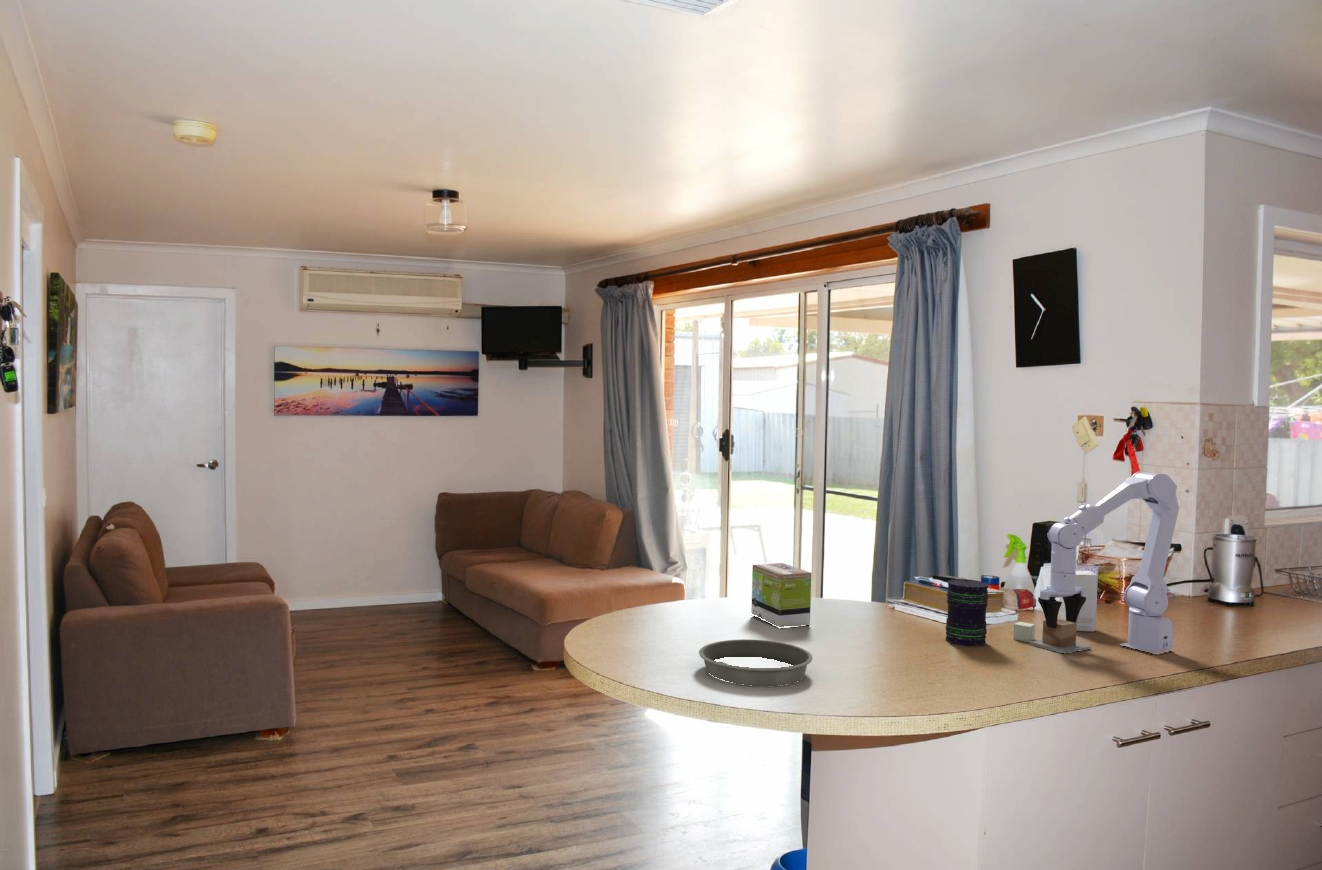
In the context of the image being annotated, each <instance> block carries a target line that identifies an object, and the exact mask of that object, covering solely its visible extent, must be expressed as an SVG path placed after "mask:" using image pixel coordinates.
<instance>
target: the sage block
mask: <svg viewBox="0 0 1322 870" xmlns="http://www.w3.org/2000/svg"><path fill="white" fill-rule="evenodd" d="M1035 627H1036V624H1035V623H1029V622H1023V621H1018V622H1015V623H1014V624H1013V638H1012V639H1013V640H1015V641H1019V642H1020V641H1021V642H1028V643H1030V641H1034V640H1035V634H1036V633H1035V632H1036V631H1035V630H1036V628H1035ZM1033 639H1034V640H1033Z"/></svg>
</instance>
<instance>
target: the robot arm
mask: <svg viewBox="0 0 1322 870" xmlns="http://www.w3.org/2000/svg"><path fill="white" fill-rule="evenodd" d="M1177 489H1178V485H1177V483H1175V481H1174V480H1173V479H1172V478H1171V476H1169V475H1167V474H1165V473H1153V472H1147V471H1142V470H1141V471H1136V472H1135V473H1133V474H1132V476H1128V477H1127V478H1126V479H1124V481H1123V482H1122V483H1121V484H1120V485H1119V486H1117V487H1116V488H1115V489H1114V490H1112V491H1111V492H1109V493H1108V494H1107V495H1106V496H1104V497H1103V498H1102V499H1101V500H1100V501H1098V502H1097V503H1096V504H1089V503H1088V504H1086V505H1084V504H1081V505H1080V506H1078V510H1077V511H1076V512H1074V513H1073V514H1071V515H1070V516H1069V517H1068V516H1066V517H1064V518H1063V522H1056V523H1054V524H1053V525H1052V526H1051V527H1050V529H1049V531H1048V532H1047V534H1046V536H1047V538H1048V541H1049V542H1050V544H1051V551H1050V553H1051V554H1050V555H1051V556H1050V558H1051V559H1050V560H1051V561H1050V578H1049V579H1050V584H1049V585H1048V586H1046V589H1043V590H1040V591H1039V597H1037V601H1038V604H1039V605H1040V607H1041V609H1042V612H1043V614H1044V620H1046V624H1047V627H1050V628H1056V625H1057V619H1059V609H1060V606H1061V604H1062V602H1060V601H1059V600H1057V598H1058V599H1059V597H1063V600H1064V604H1065V610H1066V621H1070V622H1074V623H1076V621H1077V618H1078V615H1079V612H1080V610H1081V608H1082V606H1083V604H1084V603H1085V601H1086V597H1084V596H1081V595H1084V587H1080V586H1075V578H1076V571H1077V547H1078V546H1080V544H1081V543H1082V541H1083V537H1085V536H1086V535H1088V534H1089V533H1091V532H1092V531H1094V530H1095V529H1096V528H1098V527H1099V526H1101V525H1103V523H1104V521H1105V516H1107V515H1108V514H1109V513H1112V512H1113V511H1115V510H1117V509H1118V508H1120V507H1122V506H1123V505H1124V504H1126V503H1128V502H1129V501H1131V500H1135V499H1136V500H1137V499H1140V500H1143V501H1144V502H1145V503H1146V504H1147V506H1149V508H1150V509H1151V510H1152V511H1151V512H1152V515H1151V519H1150V523H1149V527H1148V532H1147V536H1146V539H1145V544H1144V550H1143V553H1142V556H1141V557H1142V558H1141V562H1140V565H1139V570H1138V572H1137V573H1136V574H1134V575H1133V576H1132V577H1131V580H1130V583H1129V585H1128V586H1127V588H1126V589H1125V591H1124V593H1123V594H1124V595H1123V596H1124V601H1125V603H1126V604H1127V605H1128V610H1129V612H1128V630H1127V631H1128V632H1127V642H1125V643H1124V642H1123V643H1119V645H1121V646H1120V647H1123V646H1127V647H1130V648H1129V649H1131V648H1136V649H1138V650H1144V651H1147V650H1149V651H1148V652H1150V651H1151V652H1150V653H1161V652H1165V651H1167V650H1172V649H1173V634H1174V633H1173V632H1174V630H1173V629H1174V627H1173V626H1174V625H1173V622H1172V620H1171V619H1170V618H1167V617H1164V615H1163V614H1164V613H1165V611H1167V608H1168V606H1169V598H1168V590H1169V589H1168V585H1167V583H1166V581H1165V580H1164V576H1165V575H1164V574H1165V572H1166V571H1165V569H1166V566H1167V562H1168V558H1169V554H1170V549H1171V545H1172V541H1173V536H1174V531H1175V528H1176V523H1177V519H1178V516H1179V511H1180V507H1179V506H1180V505H1179V502H1178V496H1177V493H1176V492H1177ZM1127 647H1126V648H1127ZM1138 650H1137V651H1138ZM1150 653H1149V654H1150Z"/></svg>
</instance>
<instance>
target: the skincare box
mask: <svg viewBox="0 0 1322 870" xmlns="http://www.w3.org/2000/svg"><path fill="white" fill-rule="evenodd" d="M1098 576H1099V575H1098V574H1097V573H1095V572H1093V571H1091V570H1076V578H1075V586H1080V587H1084V595H1081V596H1084V597H1086V601H1085V603H1084V604H1083V606H1082V608H1081V610H1080V612H1079V615H1078V618H1077V621H1076V623H1077V628H1076V632H1094V631H1096V632H1097V610H1098V607H1097V606H1098V603H1097V602H1098V601H1097V598H1098V597H1097V596H1098ZM1058 601H1060V602H1062V604H1061V606H1060V609H1059V612H1058V619H1061V620H1066V610H1065V604H1064V600H1063V597H1059V598H1058Z"/></svg>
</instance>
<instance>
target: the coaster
mask: <svg viewBox="0 0 1322 870" xmlns="http://www.w3.org/2000/svg"><path fill="white" fill-rule="evenodd" d="M1029 645H1030V646H1033V647H1036V646H1037V647H1038V648H1041V649H1044V648H1045V650H1047V649H1048V651H1051V650H1053V651H1052V652H1055V651H1056V652H1055V653H1059V654H1062V653H1064V654H1063V655H1066V654H1065V653H1069V654H1073V653H1072V652H1075V653H1077V652H1076V651H1079V650H1086V649H1090V648H1092V647H1091V646H1089V645H1087V644H1081V643H1078V642H1076V645H1074V646H1068V647H1062V648H1061V647H1058V646H1054V645H1050V644H1047V643H1043V642H1042V639H1037V640H1032V641H1030V642H1029Z"/></svg>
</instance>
